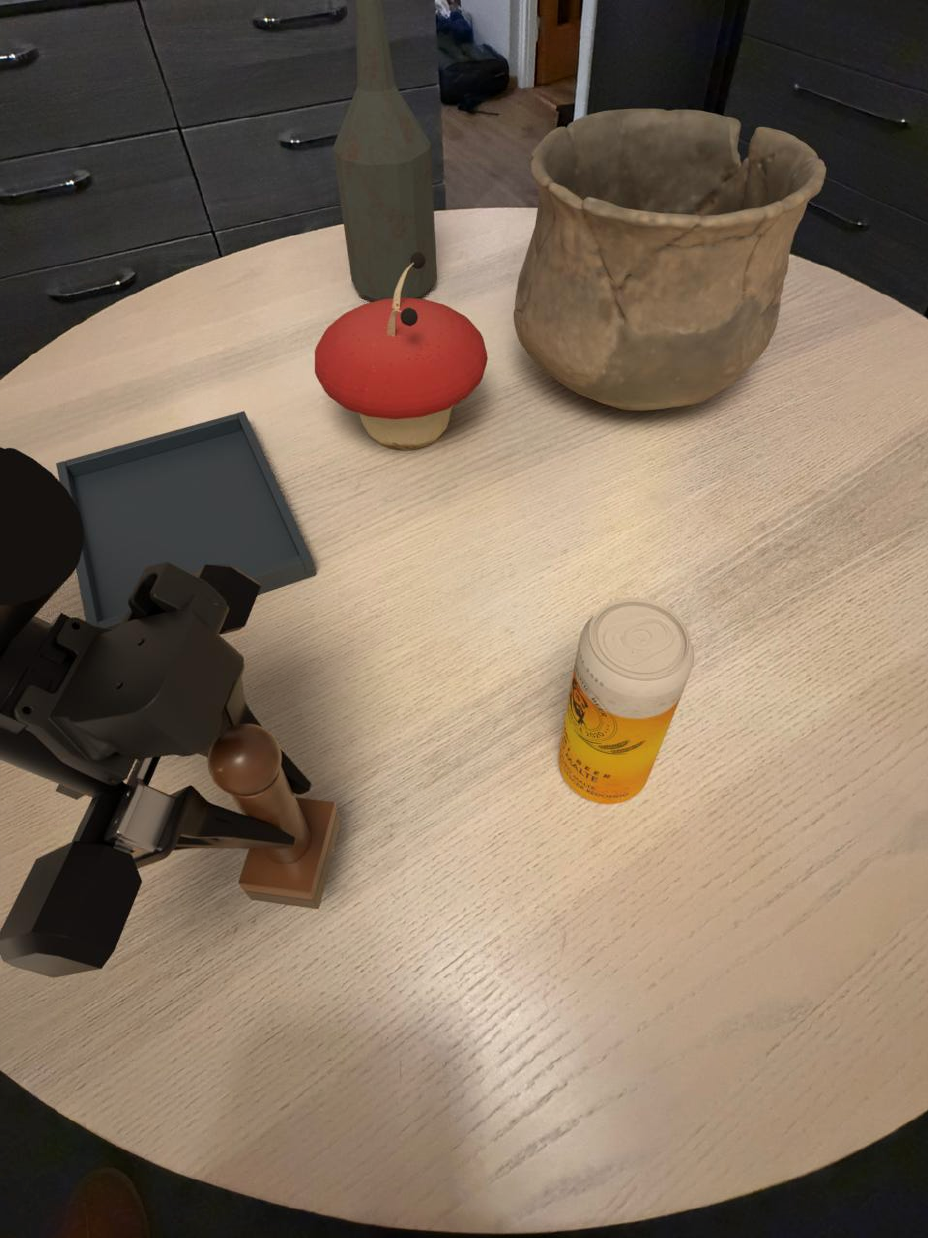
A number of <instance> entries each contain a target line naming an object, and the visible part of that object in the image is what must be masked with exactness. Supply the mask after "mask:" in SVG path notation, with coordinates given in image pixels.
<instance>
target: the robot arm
mask: <svg viewBox="0 0 928 1238" xmlns="http://www.w3.org/2000/svg"><path fill="white" fill-rule="evenodd" d="M83 546H84V535H83V524H82V521H81V518H80V514H79V511H78V508H77V506H76V504H75V503H74V501H73V499H72V498H71V496H70V494H69V492H68V491H67V489H66V488H65V487H64V486H63V485H62V484H61V483H60V482H59V478H57V477H56V476H55V475H54V474H53V473H52V472H51V471H50V470H49V469H47V468H46V467H45V466H43V465H42V464H41V463H39V462H38V461H37V460H35V459H34V457H31V456H29V455H27V454H25V452H22V451H20V450H19V449H16V448H14V447H6V448H5V447H1V446H0V761H1V762H3V763H6V764H9V765H11V766H14V767H16V768H18V769H21V770H24V771H25V772H29V773H31V774H33V775H36V776H38V777H41V778H44V779H46V780H48V781H50V782H52V783H55V784H57V787H56V789H55V792H56V793H59V794H61V795H63V796H66V797H69V798H71V799H74V800H76V801H77V800H79V799H81V798H83V797H85V796H87V797H90V798H91V800H90V801H89V804H88V806H87V809H86V811H85V813H84V815H83V817H82V819H81V821H80V823H79V825H78V827H77V829H76V831H75V833H74V835H73V838H72V840H71V841H70V842H68V843H66V844H65V845H62V846H60V847H58V848H56V849H54V850H52V851H49V852H47V853H45V854H43V855H42V856H40V857H37V858H35V861H34V863H33V864H32V866H31V868H30V870H29V873H28V875H27V877H26V878H25V880H24V882H23V884H22V886H21V888H20V891H19V893H18V895H17V897H16V899H15V901H14V903H13V905H12V906H11V909H10V911H9V912H8V914H7V916H6V919H5V921H4V923H3V925H2V927H1V928H0V959H1V960H2V962H3V963H6V964H8V965H9V966H12V968H13V967H14V968H17V969H21V970H24V971H28V972H31V973H35V974H37V975H38V974H39V975H42V976H46V977H50V978H53V979H54V978H59V977H64V976H71V975H77V974H82V973H87V972H93V971H99V970H102V969H103V968H104V966H105V965H106V964H107V962H108V961H109V960H110V958H111V957H112V956H113V954H114V953H115V951H116V948H117V946H118V943H119V941H120V938H121V935H122V933H123V931H124V928H125V927H126V924H127V921H128V918H129V916H130V913H131V911H132V908H133V906H134V903H135V901H136V898H137V896H138V894H139V891H140V889H141V886H142V883H143V879H142V876H141V875H140V871H139V870H140V869H141V868H145V867H147V866H149V865H152V864H155V863H157V862H160V861H163V860H165V859H167V858H168V857H169V856H170V855H171V854H172V853H173V851H182V850H193V849H194V850H197V849H200V850H201V849H237V850H238V849H243V850H244V849H246V850H247V849H248V850H249V849H285V848H289V847H292V846H294V845H295V841H296V838H295V837H294V836H292V835H291V834H289V833H287V832H285V831H283V830H282V829H280V828H278V827H276V826H273V825H271V824H268V823H265V822H262V821H260V820H257V819H254V818H251V817H248V816H246V815H243V814H241V812H237V811H234V810H232V809H228V808H225V807H223V806H220V805H217V804H214V803H212V802H210V801H208V800H207V799H206V797H204V795H202V794H201V792H199V791H198V790H197V789H196V787H195V786H193V785H191V784H189V785H187V786H185V787H183V788H181V789H179V790H177V791H175V792H173V793H171V794H168V793H166V792H164V791H161V790H159V789H157V788H155V787H152V786H150V783H151V781H152V778H153V776H154V774H155V771H156V769H157V767H158V764H159V762H160V760H161V758H162V757H166V756H178V757H190V756H195V755H197V754H198V755H200V756H203V757H204V758H207V759H208V753H209V749H210V747H211V745H212V743H213V741H214V740H215V739H216V737H217V736H218V735H219V734H220V733H222V732H223V731H224V730H226V729H228V728H230V727H232V726H235V725H238V724H254V725H258V726H261V727H263V726H262V724H261V723H260V721H259V720H258V719H257V717H256V716H255V714H254V713H253V712H252V710H251V709H250V707H249V705H248V703H247V699H246V696H245V691H244V685H243V674H244V671H245V668H246V665H245V658H244V655H243V654H242V653H240V652H239V651H238V650H237V649H236V648H235V647H233V646H232V645H231V644H230V643H229V642H228V641H227V640H226V639H225V638H223V636H222V635H225V634H229V633H234V632H238V631H241V630H243V629H244V628H245V627H246V625H247V623H248V621H249V618H250V616H251V613H252V611H253V609H254V606H255V604H256V600H257V598H258V596H259V595H258V593H259V591H260V588H261V585H260V583H259V582H257V581H256V580H254V579H253V578H251V577H250V576H248V575H246V574H245V573H243V572H242V571H240V570H238V569H237V568H235V567H234V566H231V565H221V564H205V565H204V566H203V567H202V568H201V569H199V570H198V571H197V572H196V573H195V574H194V575H193V574H191V573H189V572H187V571H185V570H183V569H181V568H179V567H177V566H175V565H173V564H171V563H169V562H164V563H160V564H157V565H153V566H149V567H147V568H145V569H144V571H143V573H142V574H141V576H140V578H139V580H138V582H137V584H136V586H135V587H134V589H133V591H132V593H131V595H130V597H129V599H128V605H129V607H130V608H131V610H127V612H126V614H125V616H124V618H123V620H122V622H121V623H120V625H119V627H118V628H116V629H115V630H110V629H105V628H101V627H96V626H93V625H91V624H89V623H87V622H86V620H84V619H82V618H80V617H75V616H74V617H71V616H69V615H67V614H66V613H65V614H64V613H63V612H60V613H59V614H58V615H57V616H56V617H55V618H54V619H53V620H52V621H51V622H50V623H49V622H48V621H46V620H44V619H42V618H41V617H38V616H36V615H37V614H38V613H39V612H40V610H41V609H42V608H43V607H44V606H45V605H47V603H48V602H49V601H50V600H51V599H52V597H54V595H55V594H56V593H57V592H58V591H59V589H60V588H61V587H62V586H63V585H64V584H65V583H66V582H67V581H68V579H69V578H70V577H71V576H72V575H73V573H74V572H75V571H76V567H77V565H78V563H79V561H80V557H81V553H82V550H83ZM280 749H281V756H282V761H281V767H282V769H283V771H284V774H285V776H286V778H287V780H288V783H289V785H290V787H291V789H292V792H293V794H294V795H299V796H300V795H301V796H302V795H305V794H306V793H309V792H310V791H311V790H312V782H311V781H310V779H308V777H307V776H306V775H305V774H304V773H303V771H302V770H301V769H300V768H299V767H298V766H297V765H296V764H295V763H294V761H292V759H291V758H290V757H289V756H288V755H287V753H285V751H284V750H283V749H282V748H281V747H280ZM126 780H127V781H126ZM125 781H126V782H125Z"/></svg>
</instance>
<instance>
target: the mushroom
mask: <svg viewBox="0 0 928 1238" xmlns="http://www.w3.org/2000/svg"><path fill="white" fill-rule="evenodd" d="M425 261H426V260H425V256H424V255H423V254H422V253H420V252H415V253H414V254H412V255H411V259H410V262H411V265H410V266H409V267H407V268H406V270H405V271H404V273H403V274H402V276H401V278H400V280H399V282H398V284H397V287H396V289H395V291H394V297H393V298H392V299H383V300H379V301H375V302H367V303H364V304H362V305H359V306H357V307H355V308H353V309H351V310H348V311H347V312H345V313H343V314H342V315H341V316H340V317H338V318H337V319H336V320H334V321H333V322H332V323H331V324H330V325H329V326H327V328H326V329H325V330H324V332H323V334H322V335H321V337H320V339H319V341H318V342H317V345H316V347H315V349H314V374H315V378H316V379H317V380H318V382H319V384H320V386H321V387H322V389H323V392H324V393H325V394H326V395H327V397H329V398H330V399H332V400H333V401H335V402H336V403H337V404H338V405H340V406H341V407H343V408H344V409H346V410H348V411H352V412H354V413H357V414H359V417H360V421H361V424H362V425H363V428H364V429H365V431H366V433H367V435H369V436H370V438H372V439H374V441H376V442H378V443H379V444H380V445H381V446H383V447H386V448H388V449H391V450H396V451H397V450H398V451H414V450H419V449H422V448H424V447H428V446H430V445H431V444H432V443H434V442H436V441H437V440H438V438H440V437H441V435H442V434H443V433H444V432H445V431H446V430H447V428H448V425H449V422H450V418H451V413H452V407H454V406H456V405H457V404H459V403H460V402H463V401H465V400H466V399H467V398H468V397H469V396H470V395H471V394H472V393H473V391H475V389H476V388H477V387H478V386H479V385H480V383H482V382H481V381H482V380H483V377H484V373H485V371H486V368H487V363H488V359H489V357H488V352H487V347H486V343H485V339H484V336H483V335H482V333H481V331H480V330H479V329H478V328H477V326H475V324H473V322H472V321H471V320H470V319H469V318H468V317H467V316H466V315H464V314H462V313H461V312H459V311H457V310H455V309H454V308H452V307H450V306H448V305H446V304H443V303H440V302H436V301H432V300H429V299H426V298H422V299H415V298H401V291H402V287H403V284H404V280H405V277H406V274H407V272H408V270H409V268H410V267H411V266H413V267H414V268H416V269H420V268H422V267H423V266H424V265H425Z"/></svg>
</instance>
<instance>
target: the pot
mask: <svg viewBox="0 0 928 1238" xmlns="http://www.w3.org/2000/svg"><path fill="white" fill-rule="evenodd" d="M741 128H742V123H741V121H740V120H739V119H737V118H735V117H730V116H724V115H721V114H718V113H712V112H708V111H704V110H698V109H673V110H666V109H663V108H625V109H613V110H612V109H611V110H604V111H599V112H596V113H590V114H587V115H583V116H581V117H579V118H576V119H575V120H573V121H572V122H570V123H568V125H567V126H559V127H556V128H555V129H553V130H551V131H550V132H549V133H547V134H546V135H545V136H544V137H543V139H542V140H541V141H540V142H539V143H538V144H537V146H536V147H535V148H534V149H533V151H532V152H531V154H530V159H531V162H530V166H529V168H530V174H531V176H532V177H533V179H534V180H535V181H536V184H537V188H538V189H537V190H538V191H537V192H538V194H537V196H538V197H537V209H536V218H535V224H534V228H533V232H532V235H531V237H530V241H529V244H528V248H527V250H526V254H525V258H524V261H523V262H522V266H521V269H520V271H519V275H518V279H517V286H516V291H515V292H516V293H515V299H514V310H513V323H514V328H515V332H516V336H517V339H518V341H519V343H520V345H521V347H522V348H523V349H524V351H526V353H527V354H528V355H529V357H530V358H531V359H532V361H534V363H535V364H536V365H537V366H538V367H540V368H541V369H542V370H543V371H544V372H545V373H547V375H549V376H550V377H551V378H553V379H554V380H556V381H557V382H558V383H560V384H561V385H562V386H564V387H565V388H567V389H569V390H571V391H572V392H574V393H576V394H578V395H580V396H583V397H585V398H588V399H591V400H593V401H596V402H598V403H600V404H602V405H606V406H609V407H614V408H616V409H620V410H626V411H633V412H634V411H655V410H663V409H671V408H680V407H685V406H691V405H695V404H699V403H702V402H704V401H707V400H708V399H710V398H712V397H713V396H715V395H716V394H718V393H720V392H721V391H722V390H723V391H724V389H726V388H727V387H729V386H730V385H731V384H733V383H734V382H735V381H736V380H738V379H739V378H740V377H741V376H742V375H743V374H744V373H745V372H746V371H747V370H748V369H749V368H750V367H751V366H752V365H754V363H755V362H756V361H757V360H758V359H759V358H760V357H761V356H762V354H763V353H764V352H765V351H766V350H767V348H768V347H769V345H770V342H771V340H772V338H773V336H774V334H775V332H776V330H777V326H778V322H779V316H780V311H781V303H782V300H781V299H782V294H783V291H784V284H785V279H786V276H787V273H788V270H789V260H790V254H791V248H792V244H793V242H794V236H795V233H796V231H797V229H798V227H799V224H800V222H801V220H802V219H803V217H804V215H805V212H806V209H807V206H808V202H809V201H810V200H811V199H813V198H814V197H816V196H817V195H818V194H819V193H820V192H821V191H822V187H823V186H824V183H825V178H826V173H827V167H826V166H825V162H824V160H822V159H821V158H819V156H818V154H817V152H816V151H815V150H814V149H813V148H812V147H811V146H809V145H808V144H807V143H806V142H804V141H803V140H800V139H799V138H797V136H795V135H792V134H790V133H788V132H786V131H784V130H779V129H775V128H771V127H767V126H766V127H765V126H758V127H756V128H755V130H754V132H753V135H752V137H751V139H750V142H749V145H748V152H747V157H745V158H744V160H743V161H741V155H740V153H739V151H738V144H739V140H740V132H741Z"/></svg>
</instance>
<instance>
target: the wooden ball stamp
mask: <svg viewBox="0 0 928 1238" xmlns="http://www.w3.org/2000/svg"><path fill="white" fill-rule="evenodd" d="M261 726H262V725H261ZM261 726H258V725H254V724H238V725H235V726H232V727H230V728H228V729H226V730H224V731H223V732H222V733H220V734H219V735H218V736H217V737H216V739H215V740H214V741H213V743H212V745H211V747H210V749H209V753H208V758H207V763H206V764H207V770H208V773H209V776H210V778H211V780H212V781H213V783H214V784H215V785H216V786H217V788H219V789H220V790H222V791H223V792H225V793H227V794H229V796H230V797H231V799H232V801H233V802H234V804H235V806H236V807H237V809H238V810H239V813H240V814H243V815H246V816H248V817H251V818H254V819H257V820H260V821H262V822H265V823H268V824H271V825H273V826H276V827H278V828H280V829H282V830H283V831H285V832H287V833H289V834H291V835H292V836H294V837H295V838H296V841H295V845H294V846H292V847H289V848H285V849H248V851H247V853H246V857H245V860H244V862H243V866H242V869H241V873H240V875H239V878H238V882H237V884H238V885H239V886H240V888H241V890H242V891H243V892H244V893H245V894H246V895H247V897H248V898H249V899H250V900H252V901H257V902H265V903H271V904H279V905H284V906H293V907H299V908H306V909H314V910H319V909H320V907H321V904H322V900H323V895H324V891H325V887H326V884H327V883H326V882H327V880H328V875H329V871H330V868H331V864H332V861H333V856H334V851H335V847H336V845H337V844H336V843H337V840H338V836H339V833H340V828H341V824H342V819H341V817H340V815H339V812H338V808H337V805H336V803H335V802H334V801H330V800H329V801H328V800H321V799H313V798H305V797H299V796H295V793H293V792H292V789H291V787H290V785H289V783H288V780H287V778H286V776H285V774H284V771H283V769H282V767H281V761H282V756H281V749H282V748H281V746H280V743H279V742H278V739H277V737H275V736H274V734H273V733H271V732H270V730H268V729H267V728H265V727H263V726H262V727H261ZM280 748H281V749H280Z"/></svg>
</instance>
